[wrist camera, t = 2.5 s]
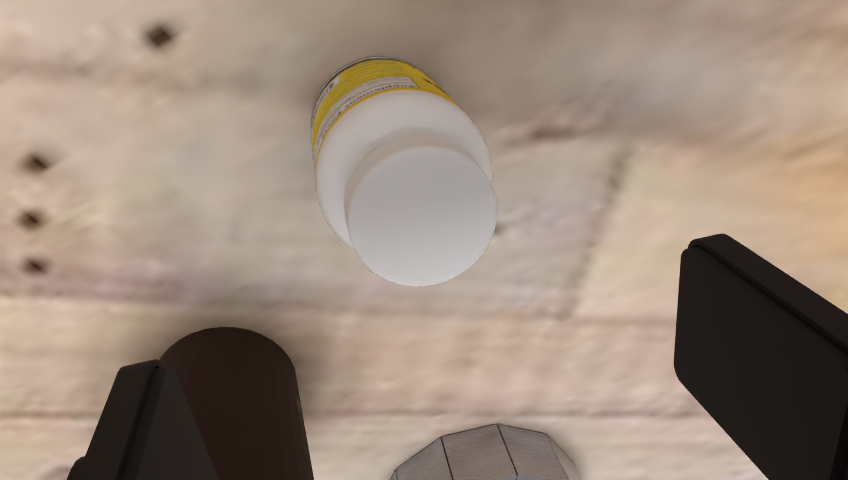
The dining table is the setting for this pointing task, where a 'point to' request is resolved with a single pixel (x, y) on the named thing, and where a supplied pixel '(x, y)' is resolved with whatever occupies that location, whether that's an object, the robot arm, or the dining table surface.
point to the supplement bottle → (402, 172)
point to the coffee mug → (243, 403)
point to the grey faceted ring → (490, 457)
